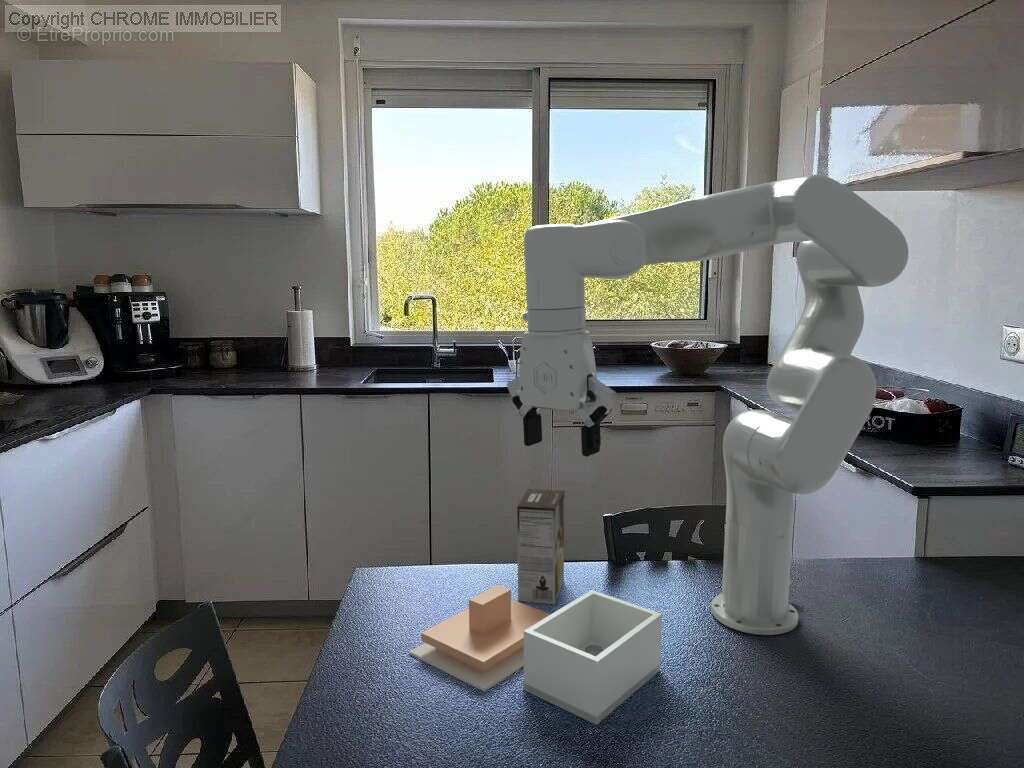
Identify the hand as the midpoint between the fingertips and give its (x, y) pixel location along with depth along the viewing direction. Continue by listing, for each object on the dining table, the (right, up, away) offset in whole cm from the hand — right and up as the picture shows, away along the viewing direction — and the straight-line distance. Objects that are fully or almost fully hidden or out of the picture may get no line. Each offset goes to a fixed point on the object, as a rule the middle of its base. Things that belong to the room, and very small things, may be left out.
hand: (561, 448), depth 98 cm
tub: (+4, -30, -4) cm, 30 cm away
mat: (-10, -28, +5) cm, 30 cm away
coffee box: (-2, -25, +22) cm, 34 cm away
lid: (-10, -28, +5) cm, 30 cm away
